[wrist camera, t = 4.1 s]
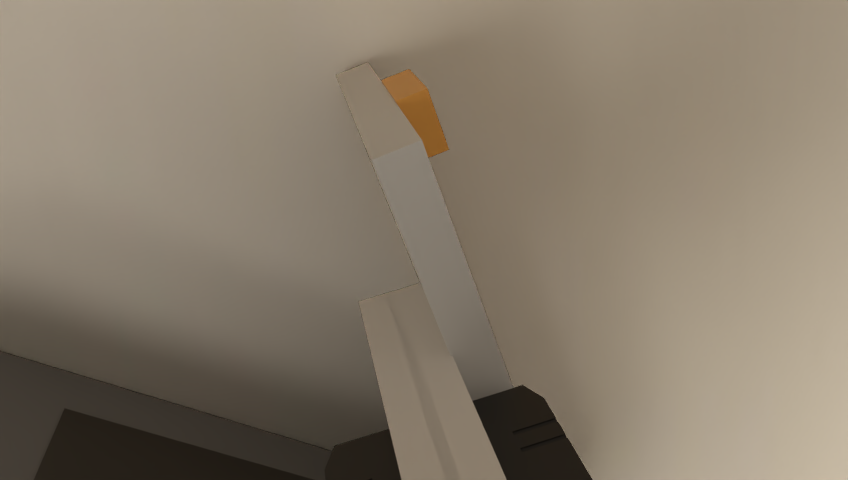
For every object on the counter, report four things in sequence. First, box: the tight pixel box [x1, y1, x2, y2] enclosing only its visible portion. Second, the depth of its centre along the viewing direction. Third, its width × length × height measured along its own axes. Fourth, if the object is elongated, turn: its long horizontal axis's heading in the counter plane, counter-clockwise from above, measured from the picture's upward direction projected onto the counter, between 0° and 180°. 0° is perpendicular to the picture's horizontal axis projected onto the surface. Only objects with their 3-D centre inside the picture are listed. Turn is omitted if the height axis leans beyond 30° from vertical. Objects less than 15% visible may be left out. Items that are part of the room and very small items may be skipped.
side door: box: [336, 62, 513, 401], centre depth 17 cm, size 14×2×7 cm, turn 19°
